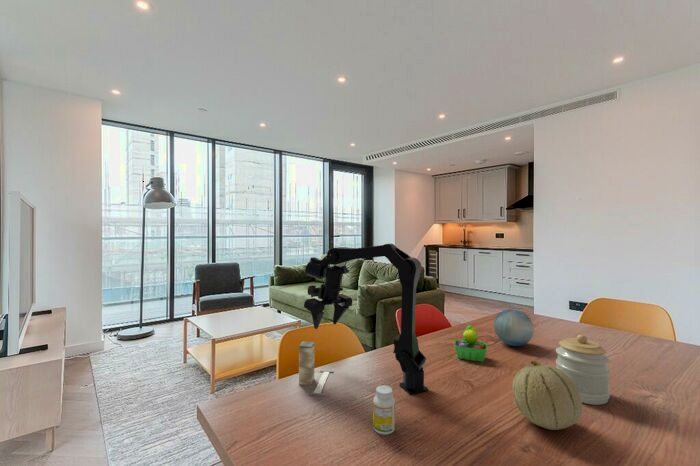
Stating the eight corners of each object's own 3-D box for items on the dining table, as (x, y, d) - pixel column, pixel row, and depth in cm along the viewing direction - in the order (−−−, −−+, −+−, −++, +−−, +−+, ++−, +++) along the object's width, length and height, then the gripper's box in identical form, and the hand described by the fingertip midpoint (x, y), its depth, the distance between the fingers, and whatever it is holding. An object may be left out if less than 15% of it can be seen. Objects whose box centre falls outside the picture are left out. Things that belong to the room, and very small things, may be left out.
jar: (594, 410, 86) (595, 345, 86) (546, 389, 98) (546, 331, 97) (618, 399, 92) (619, 337, 92) (570, 380, 104) (570, 325, 103)
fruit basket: (454, 359, 120) (454, 329, 120) (455, 350, 128) (456, 322, 128) (487, 364, 116) (487, 333, 116) (486, 355, 124) (486, 326, 124)
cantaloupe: (584, 452, 70) (584, 383, 70) (509, 430, 78) (509, 368, 77) (579, 418, 82) (579, 360, 82) (514, 402, 90) (515, 349, 90)
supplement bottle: (387, 438, 74) (387, 397, 74) (368, 429, 78) (368, 389, 78) (399, 427, 78) (399, 388, 78) (381, 419, 82) (381, 381, 82)
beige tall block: (314, 378, 104) (314, 342, 104) (311, 384, 100) (311, 346, 100) (302, 378, 104) (302, 341, 104) (298, 384, 100) (298, 345, 100)
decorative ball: (534, 343, 137) (534, 308, 137) (532, 354, 125) (532, 316, 125) (496, 336, 145) (496, 303, 145) (491, 347, 133) (491, 310, 133)
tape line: (320, 370, 110) (320, 370, 110) (333, 371, 109) (333, 371, 109) (308, 394, 94) (308, 394, 94) (323, 395, 93) (323, 395, 93)
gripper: (334, 275, 122) (327, 314, 124) (297, 278, 108) (289, 322, 110) (356, 283, 115) (349, 324, 117) (319, 288, 101) (311, 335, 103)
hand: (325, 326), depth 112 cm, fingers open, 9 cm apart
